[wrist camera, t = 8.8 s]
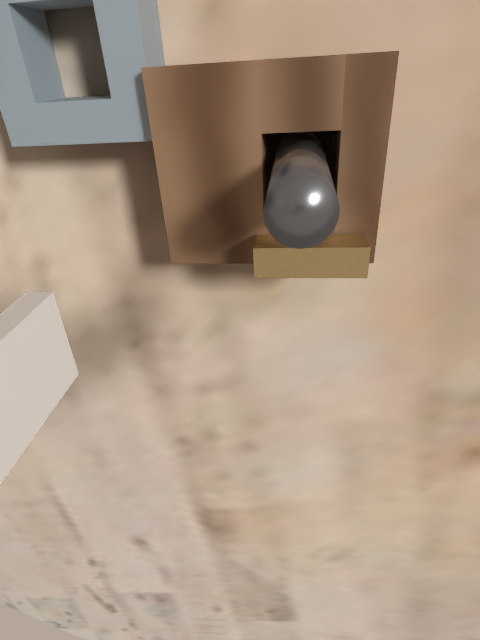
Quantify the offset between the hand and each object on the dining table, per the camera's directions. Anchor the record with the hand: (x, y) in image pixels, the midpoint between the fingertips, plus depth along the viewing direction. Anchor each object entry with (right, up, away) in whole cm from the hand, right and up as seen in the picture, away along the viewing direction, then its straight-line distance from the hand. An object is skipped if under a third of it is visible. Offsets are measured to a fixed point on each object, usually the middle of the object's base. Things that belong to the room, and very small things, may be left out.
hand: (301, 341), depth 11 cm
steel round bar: (+3, +12, +19) cm, 23 cm away
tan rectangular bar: (+3, +5, +17) cm, 18 cm away
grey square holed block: (-12, +18, +17) cm, 28 cm away
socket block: (+1, +12, +19) cm, 23 cm away
